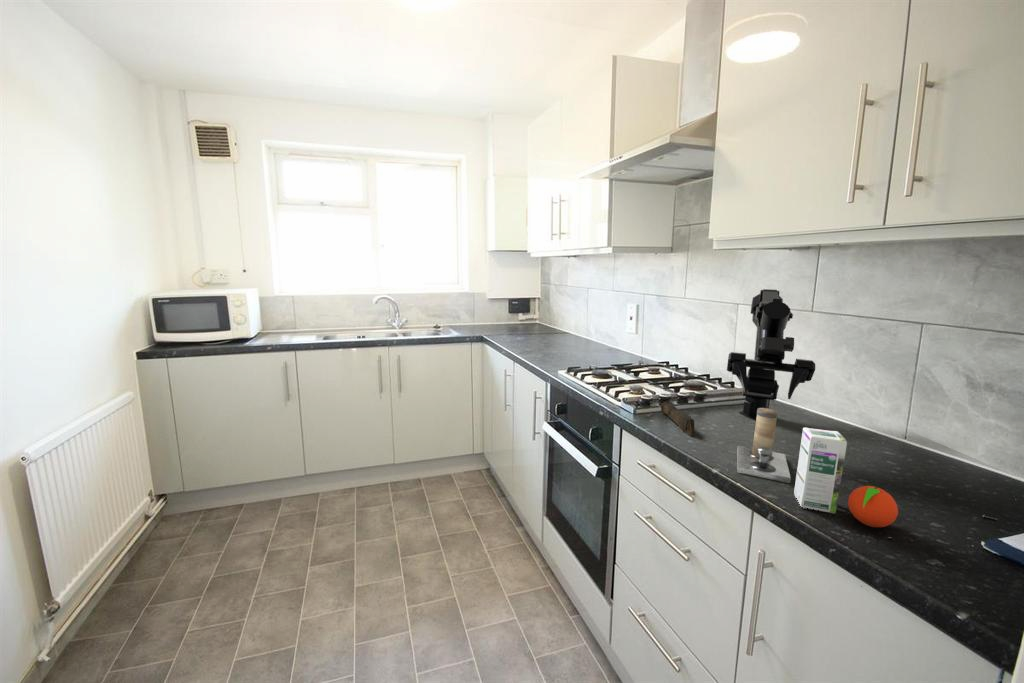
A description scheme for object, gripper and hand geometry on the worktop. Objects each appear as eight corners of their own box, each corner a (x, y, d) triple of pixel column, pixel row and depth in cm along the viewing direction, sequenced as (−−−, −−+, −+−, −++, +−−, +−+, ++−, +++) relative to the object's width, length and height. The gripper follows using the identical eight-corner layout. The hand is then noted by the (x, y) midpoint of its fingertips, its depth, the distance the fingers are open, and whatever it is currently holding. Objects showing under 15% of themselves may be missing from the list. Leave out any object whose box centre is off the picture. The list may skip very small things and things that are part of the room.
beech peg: (756, 450, 107) (762, 406, 105) (774, 456, 104) (780, 411, 102) (748, 454, 105) (754, 409, 103) (766, 460, 101) (772, 415, 99)
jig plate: (737, 449, 110) (739, 429, 109) (784, 458, 106) (787, 437, 105) (737, 472, 98) (740, 449, 97) (789, 483, 94) (793, 459, 93)
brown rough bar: (659, 413, 137) (660, 398, 136) (672, 413, 136) (674, 399, 136) (681, 437, 118) (682, 421, 117) (696, 438, 118) (698, 421, 117)
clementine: (883, 542, 74) (891, 503, 73) (835, 522, 80) (842, 485, 79) (900, 527, 79) (907, 490, 78) (854, 509, 84) (860, 474, 83)
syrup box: (800, 508, 84) (811, 436, 82) (792, 493, 90) (803, 425, 87) (835, 514, 82) (848, 441, 80) (826, 499, 88) (837, 429, 85)
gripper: (732, 321, 113) (726, 372, 105) (820, 327, 105) (820, 384, 97) (729, 346, 121) (723, 395, 114) (810, 353, 113) (810, 407, 106)
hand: (767, 395), depth 107 cm, fingers open, 9 cm apart
